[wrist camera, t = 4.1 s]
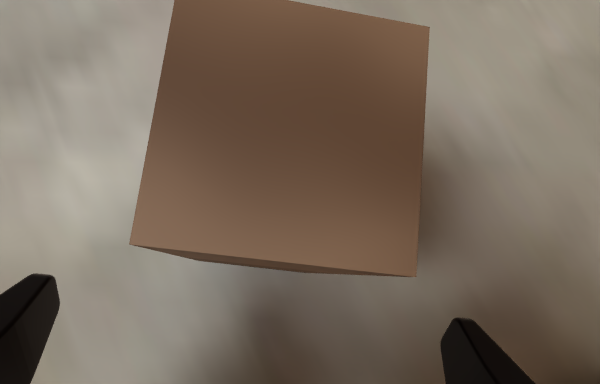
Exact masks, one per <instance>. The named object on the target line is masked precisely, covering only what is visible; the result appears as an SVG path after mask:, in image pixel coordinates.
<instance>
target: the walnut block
mask: <svg viewBox="0 0 600 384" xmlns="http://www.w3.org/2000/svg"><path fill="white" fill-rule="evenodd" d="M429 28H430V27H426V26H421V25H416V24H410V23H405V22H400V21H394V20H389V19H384V18H379V17H373V16H368V15H363V14H357V13H352V12H347V11H342V10H336V9H331V8H326V7H320V6H315V5H310V4H305V3H299V2H294V1H289V0H175V1H174V7H173V12H172V17H171V23H170V28H169V34H168V39H167V44H166V50H165V55H164V60H163V66H162V71H161V77H160V82H159V87H158V93H157V98H156V103H155V109H154V114H153V119H152V125H151V130H150V136H149V141H148V146H147V152H146V157H145V162H144V168H143V173H142V178H141V184H140V189H139V195H138V200H137V205H136V211H135V216H134V221H133V227H132V232H131V238H130V243H129V244H130V245H134V246H138V247H143V248H147V249H151V250H155V251H160V252H164V253H168V254H172V255H177V256H181V257H185V258H189V259H194V260H198V261H205V262H214V263H223V264H232V265H241V266H250V267H259V268H268V269H277V270H286V271H295V272H304V273H327V274H351V275H376V276H401V277H416V271H417V252H418V234H419V215H420V196H421V178H422V159H423V140H424V122H425V103H426V84H427V66H428V47H429Z"/></svg>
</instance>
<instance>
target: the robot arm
mask: <svg viewBox="0 0 600 384" xmlns="http://www.w3.org/2000/svg"><path fill="white" fill-rule="evenodd" d="M59 306H60V299H59V294H58V290H57V285H56V280H55V278H54V277H53V276H52V275H46V274H31V275H29V276H27V277H26V278H24V279H23V280H21V281H20V282H18V283H17V284H15V285H14V286H12V287H11V288H9V289H8V290H6V291H5V292H3V293H2V294H0V384H30V383H31V381H32V378H33V376H34V374H35V371H36V369H37V366H38V363H39V361H40V358H41V356H42V353H43V350H44V348H45V345H46V342H47V340H48V337H49V335H50V332H51V329H52V327H53V324H54V321H55V319H56V316H57V314H58V311H59ZM441 354H442V361H443V367H444V374H445V381H446V384H535V383H534V382H533V381H532V380H531V379H530V378H529V377H528V376H527V375H526V374H525V372H524V371H523V370H522V369H521V368H520V367H519V366H518V365H517V364H516V363H515V362H514V361H513V360H512V359H511V358H510V357H509V356H508V355H507V354H506V353H505V352H504V351H503V350H502V349H501V348H500V347H499V346H498V345H497V344H496V343H495V342H494V341H493V340H492V339H491V338H490V337H489V336H488V335H487V334H486V333H485V331H484V330H483V329H482V328H481V327H480V326H479V325H478V324H477V323H476V322H475V321H473V320H472V319H467V318H454V319H453V320H452V322H451V323H450V325H449V327H448V328H447V330H446V332H445V333H444V335H443V337H442V339H441Z"/></svg>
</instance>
